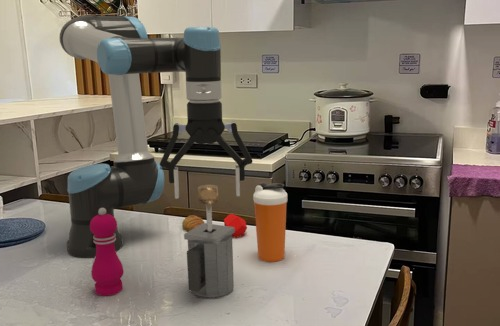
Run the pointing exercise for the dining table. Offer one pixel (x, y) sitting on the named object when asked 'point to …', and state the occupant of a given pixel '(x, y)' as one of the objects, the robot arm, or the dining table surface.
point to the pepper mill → (106, 255)
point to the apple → (236, 224)
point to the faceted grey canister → (210, 261)
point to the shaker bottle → (270, 220)
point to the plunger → (208, 201)
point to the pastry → (191, 222)
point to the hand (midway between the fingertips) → (207, 195)
